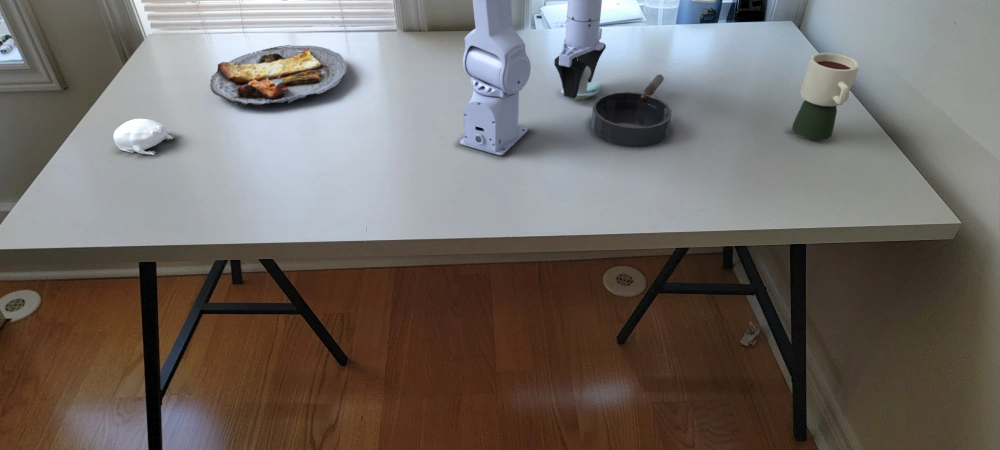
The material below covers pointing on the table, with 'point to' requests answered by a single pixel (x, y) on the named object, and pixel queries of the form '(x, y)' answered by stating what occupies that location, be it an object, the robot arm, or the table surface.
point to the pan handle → (652, 87)
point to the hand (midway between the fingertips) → (577, 89)
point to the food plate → (278, 74)
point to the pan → (630, 119)
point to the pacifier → (586, 86)
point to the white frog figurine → (140, 135)
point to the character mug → (824, 94)
